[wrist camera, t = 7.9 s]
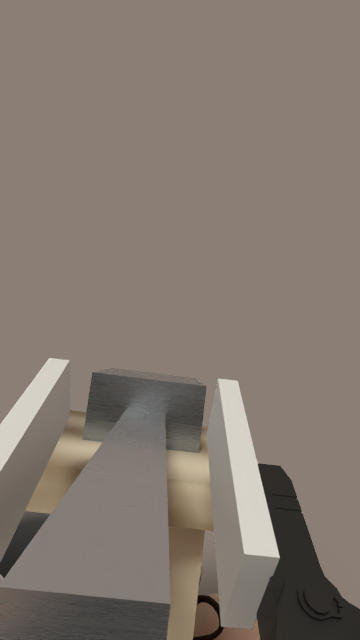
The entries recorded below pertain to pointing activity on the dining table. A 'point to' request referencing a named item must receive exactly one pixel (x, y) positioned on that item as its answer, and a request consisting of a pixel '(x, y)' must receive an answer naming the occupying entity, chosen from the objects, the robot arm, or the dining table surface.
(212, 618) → the dining table surface
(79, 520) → the grey t-shaped bar
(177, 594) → the beige grey streaked blocks
